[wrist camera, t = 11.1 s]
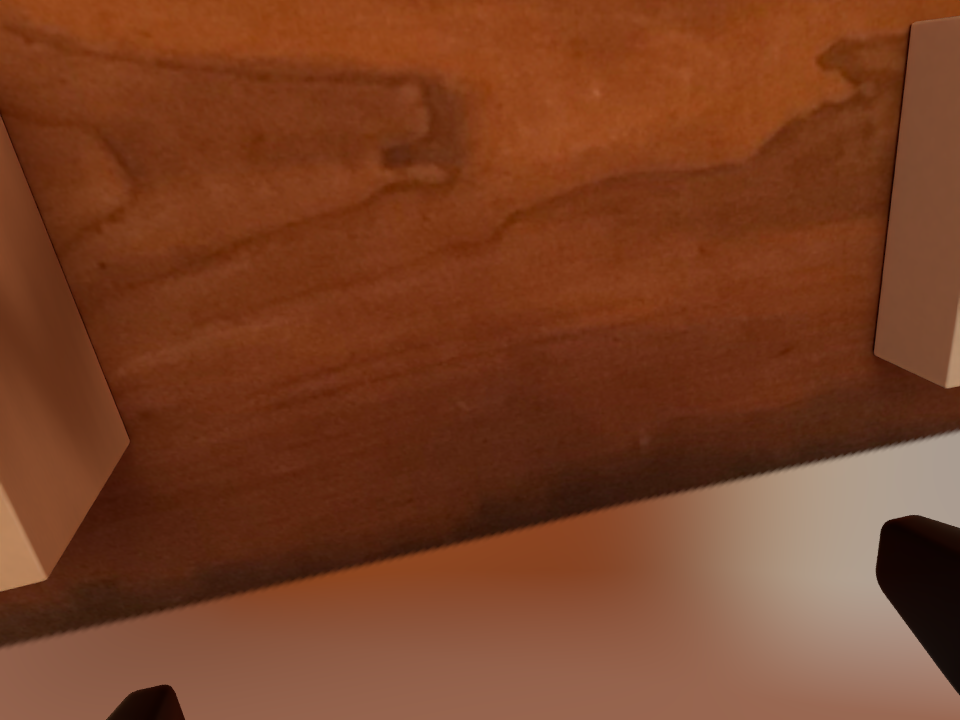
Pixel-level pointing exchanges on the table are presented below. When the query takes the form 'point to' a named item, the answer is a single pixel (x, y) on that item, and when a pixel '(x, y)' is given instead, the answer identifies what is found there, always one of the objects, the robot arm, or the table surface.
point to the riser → (44, 395)
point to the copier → (925, 214)
